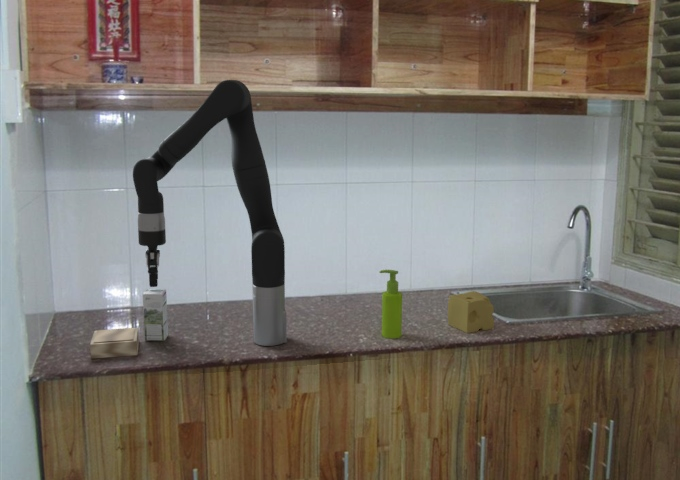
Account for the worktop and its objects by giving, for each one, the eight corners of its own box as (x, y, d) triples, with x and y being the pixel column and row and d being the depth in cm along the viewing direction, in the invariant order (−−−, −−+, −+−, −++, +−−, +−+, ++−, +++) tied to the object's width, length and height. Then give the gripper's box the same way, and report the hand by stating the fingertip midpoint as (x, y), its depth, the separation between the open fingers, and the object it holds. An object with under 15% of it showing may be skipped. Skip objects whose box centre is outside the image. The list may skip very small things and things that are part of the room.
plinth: (138, 340, 196) (138, 326, 195) (137, 355, 185) (136, 340, 184) (95, 343, 193) (94, 329, 193) (91, 358, 182) (89, 343, 181)
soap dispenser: (382, 330, 206) (383, 267, 203) (403, 333, 204) (405, 269, 200) (375, 336, 201) (376, 271, 197) (397, 339, 198) (399, 273, 195)
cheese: (494, 329, 209) (495, 298, 207) (466, 334, 204) (467, 302, 202) (473, 320, 218) (474, 290, 216) (445, 324, 213) (446, 294, 211)
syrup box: (168, 335, 201) (166, 288, 199) (164, 341, 196) (162, 293, 193) (149, 335, 201) (147, 288, 198) (144, 341, 195) (142, 293, 193)
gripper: (165, 231, 186) (167, 288, 189) (165, 223, 200) (167, 276, 203) (137, 232, 184) (139, 289, 187) (139, 224, 198) (141, 277, 201)
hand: (153, 282), depth 195 cm, fingers open, 8 cm apart
